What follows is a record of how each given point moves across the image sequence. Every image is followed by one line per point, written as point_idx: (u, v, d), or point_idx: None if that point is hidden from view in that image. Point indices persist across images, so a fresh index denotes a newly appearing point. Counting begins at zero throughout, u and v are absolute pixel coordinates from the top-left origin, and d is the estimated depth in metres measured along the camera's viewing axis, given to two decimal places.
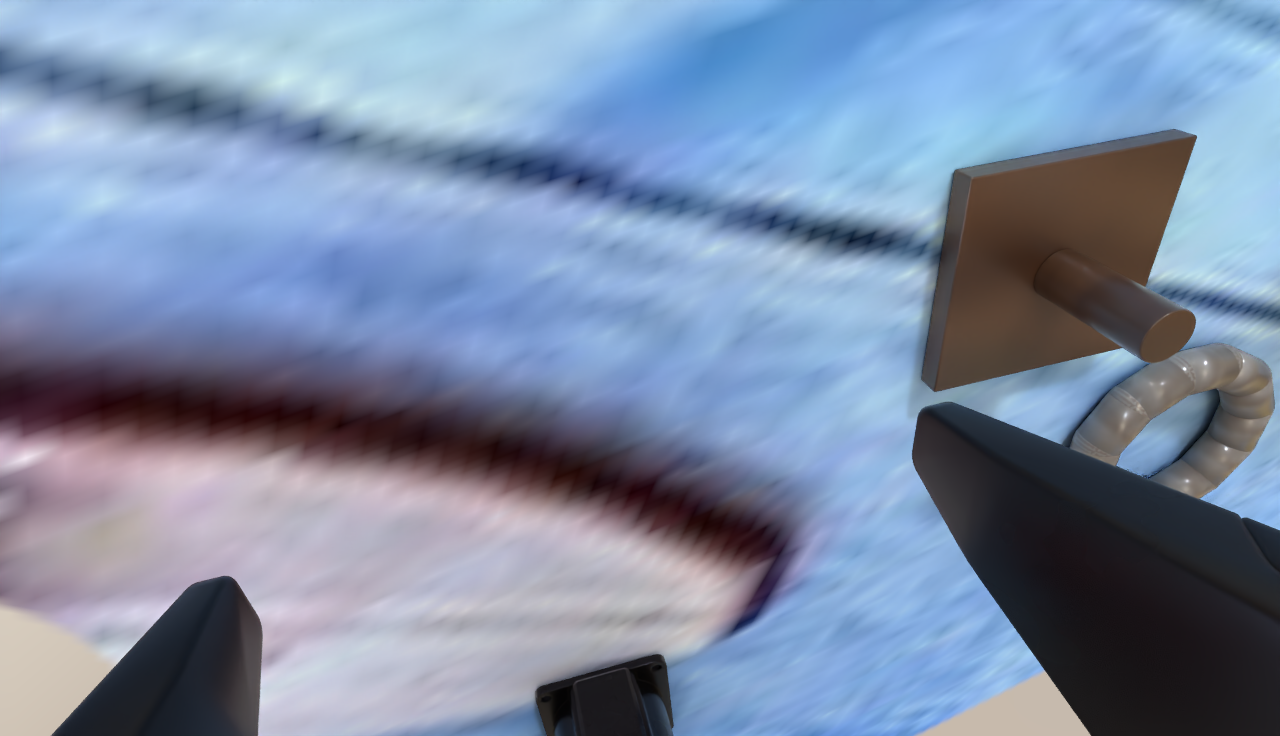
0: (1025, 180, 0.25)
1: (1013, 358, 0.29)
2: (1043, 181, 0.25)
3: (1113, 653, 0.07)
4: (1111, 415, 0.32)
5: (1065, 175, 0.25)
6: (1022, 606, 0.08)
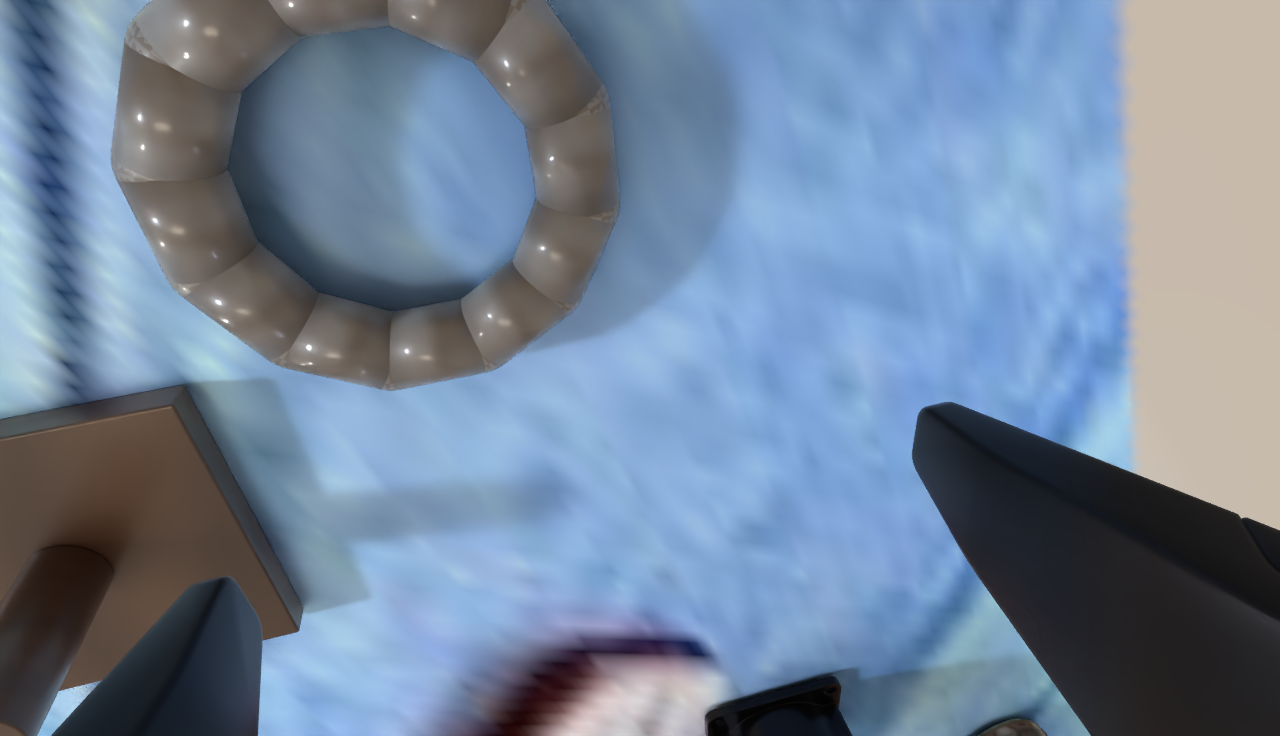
0: None
1: (228, 565, 0.21)
2: None
3: (1113, 653, 0.07)
4: None
5: None
6: (1022, 606, 0.08)
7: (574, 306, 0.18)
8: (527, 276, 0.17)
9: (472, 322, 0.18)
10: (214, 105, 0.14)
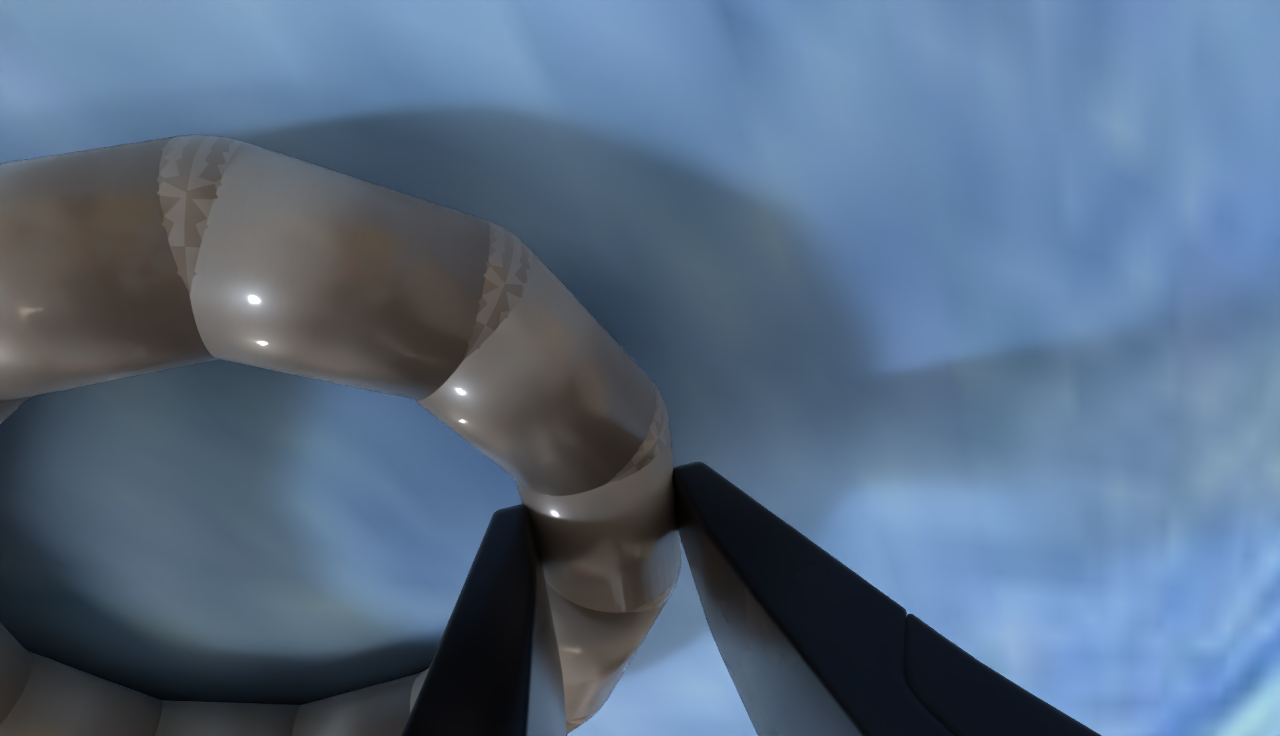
0: None
1: None
2: None
3: None
4: None
5: None
6: (745, 688, 0.08)
7: (601, 705, 0.11)
8: None
9: None
10: None
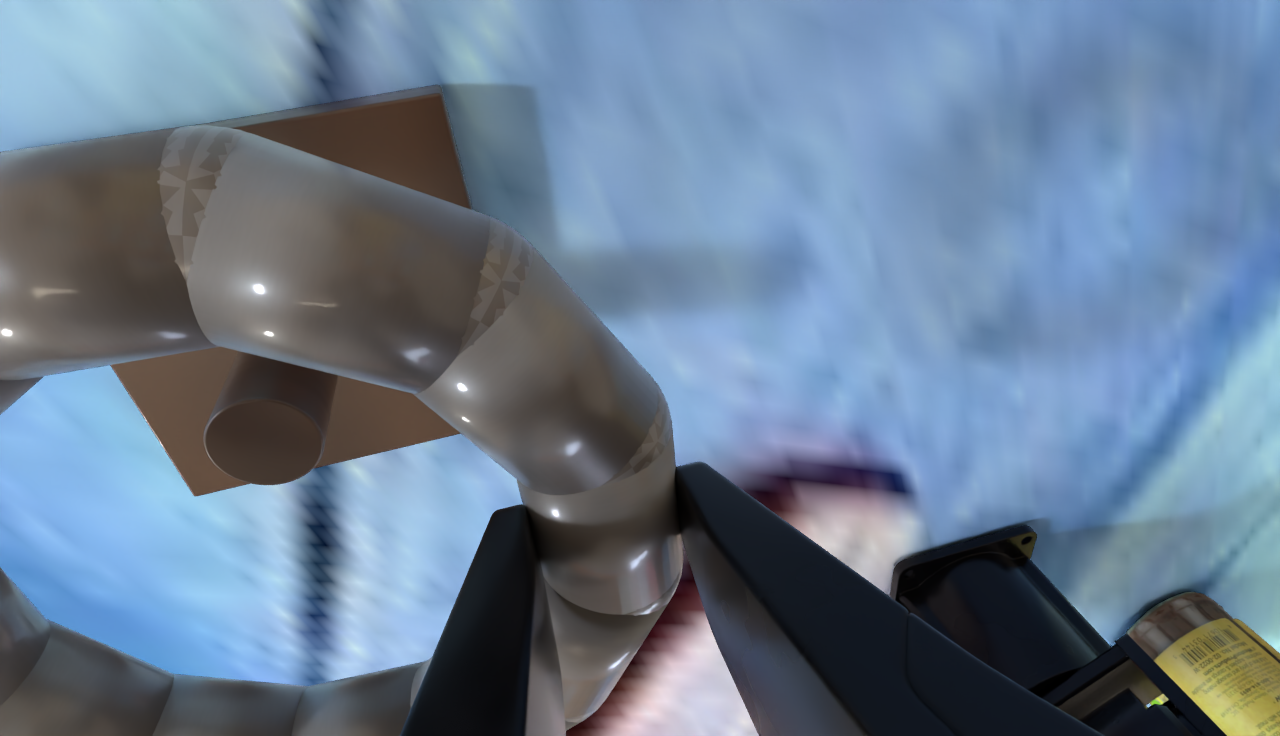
0: (173, 431, 0.18)
1: None
2: (166, 407, 0.18)
3: None
4: None
5: (145, 379, 0.17)
6: (746, 687, 0.08)
7: (600, 705, 0.11)
8: None
9: None
10: None
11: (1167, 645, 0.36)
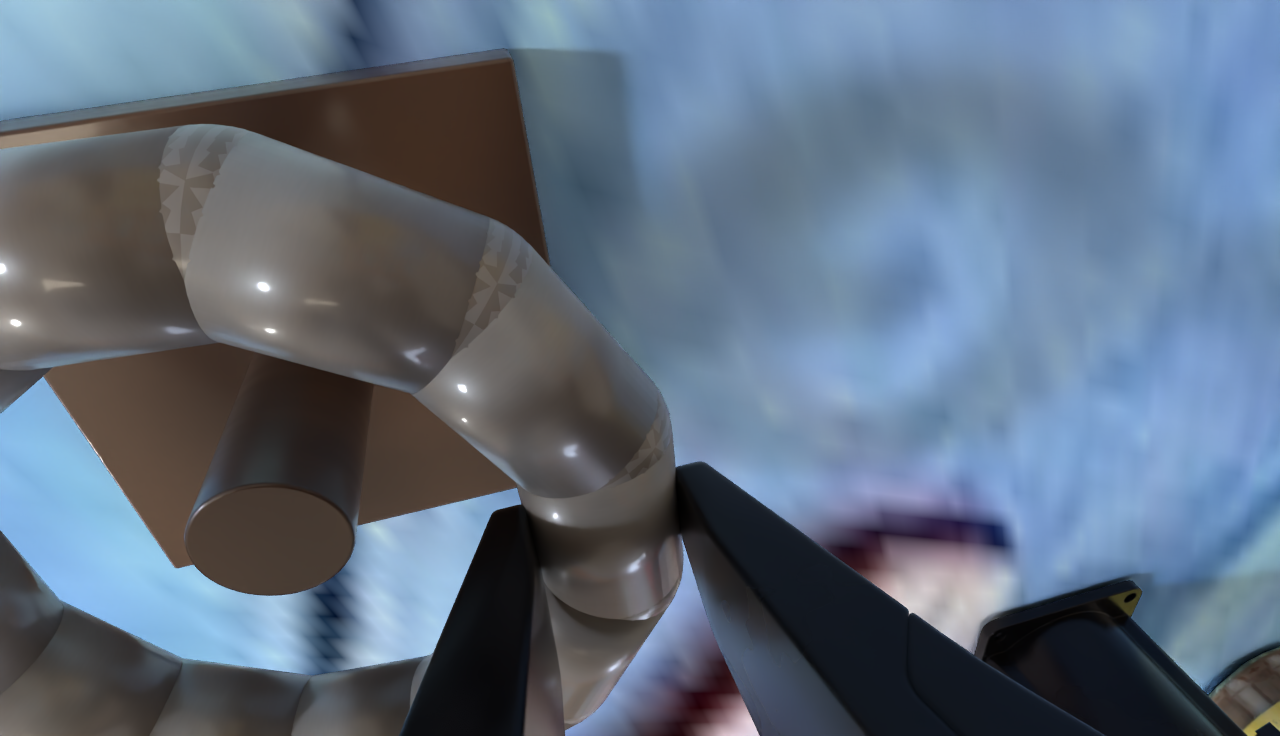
0: (149, 491, 0.14)
1: None
2: (139, 461, 0.14)
3: None
4: None
5: (112, 427, 0.13)
6: (746, 687, 0.08)
7: (597, 708, 0.11)
8: None
9: None
10: None
11: (1265, 708, 0.32)
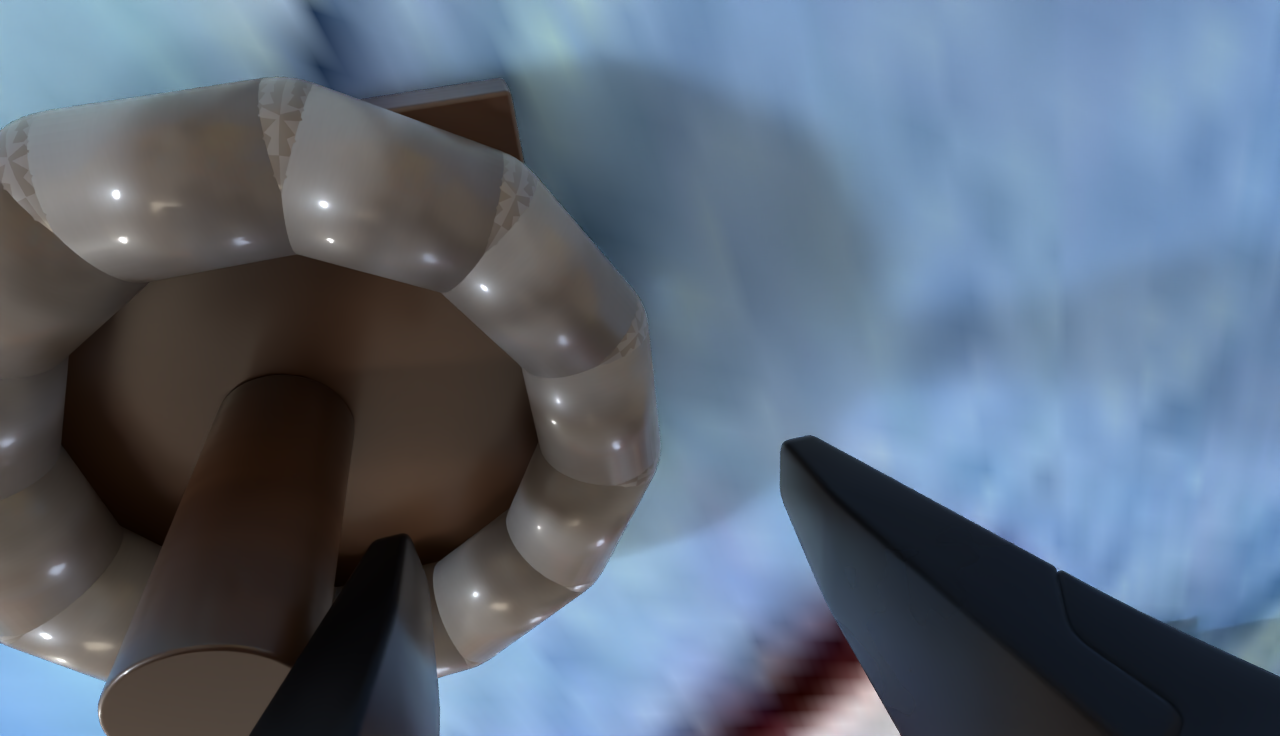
0: None
1: (525, 425, 0.13)
2: None
3: (939, 707, 0.07)
4: None
5: None
6: (868, 651, 0.08)
7: (595, 580, 0.13)
8: (528, 555, 0.12)
9: (449, 617, 0.12)
10: (9, 399, 0.08)
11: None
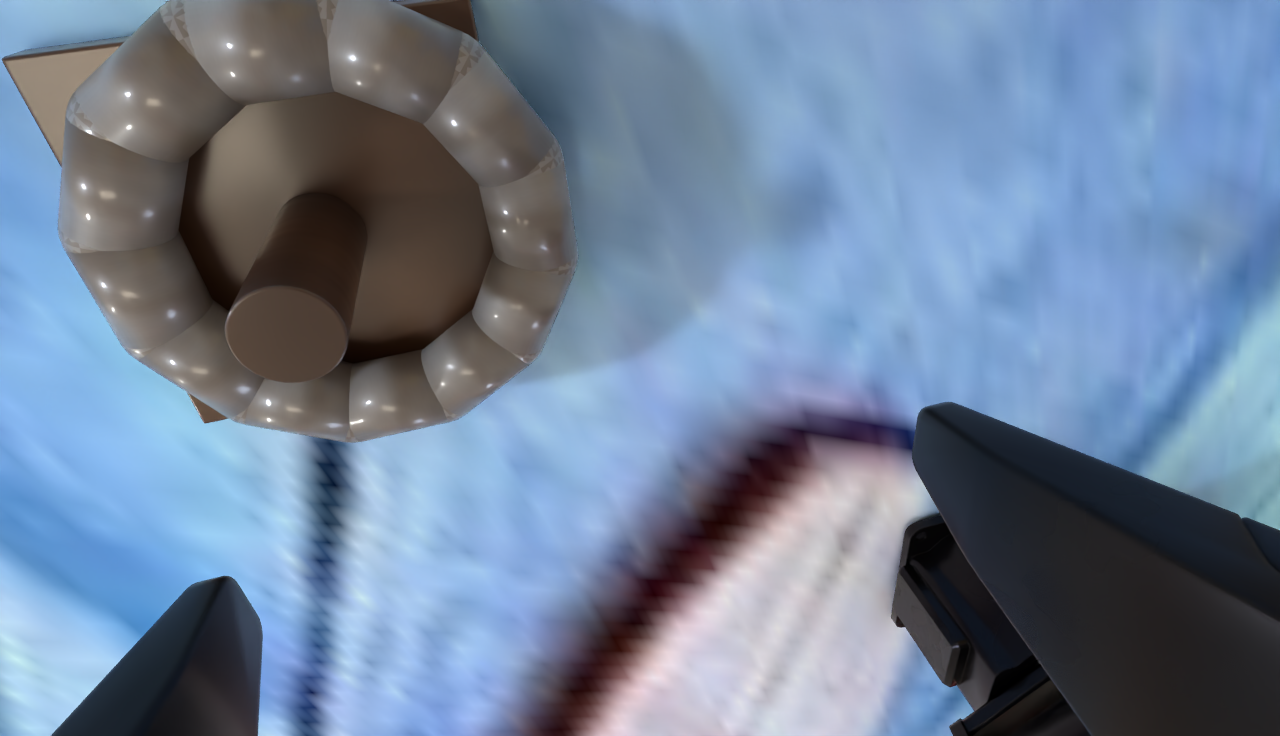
0: None
1: (486, 246, 0.18)
2: None
3: (1113, 653, 0.07)
4: None
5: None
6: (1022, 606, 0.08)
7: (535, 356, 0.18)
8: (486, 329, 0.17)
9: (432, 375, 0.18)
10: (159, 175, 0.14)
11: None
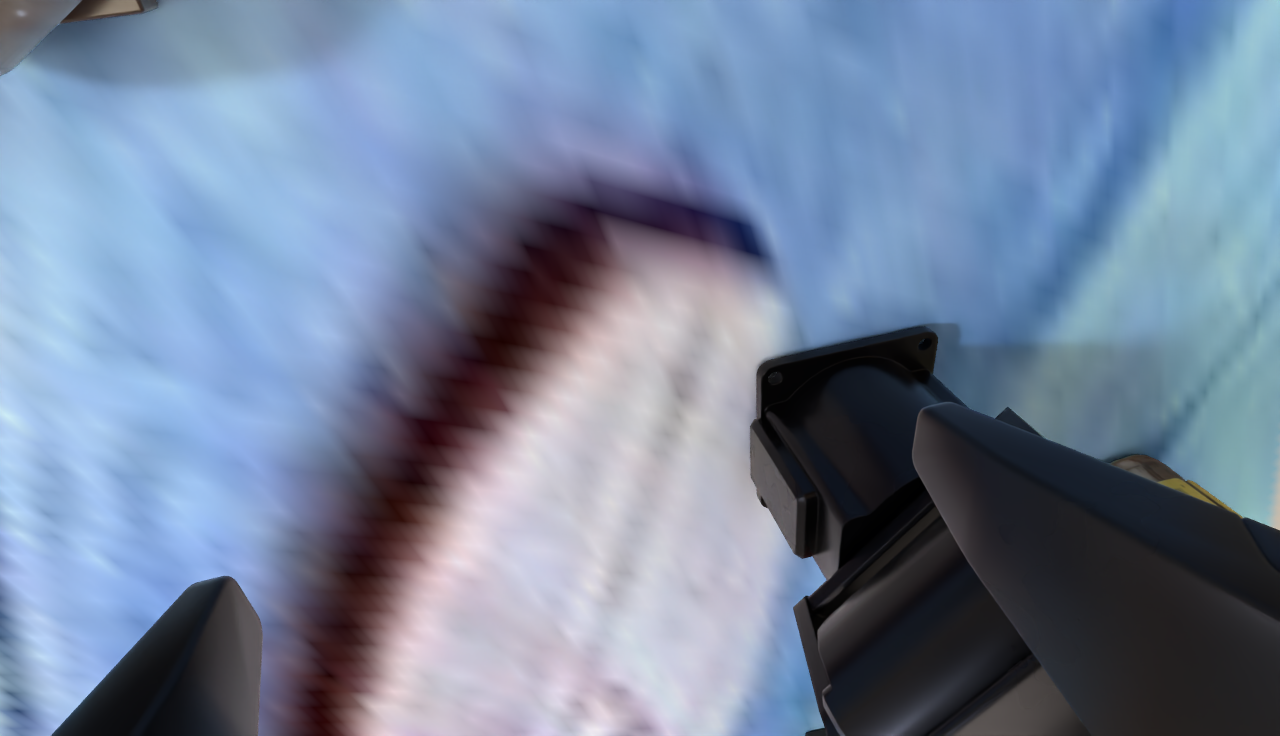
0: None
1: None
2: None
3: (1113, 653, 0.07)
4: None
5: None
6: (1022, 606, 0.08)
7: None
8: None
9: None
10: None
11: None
